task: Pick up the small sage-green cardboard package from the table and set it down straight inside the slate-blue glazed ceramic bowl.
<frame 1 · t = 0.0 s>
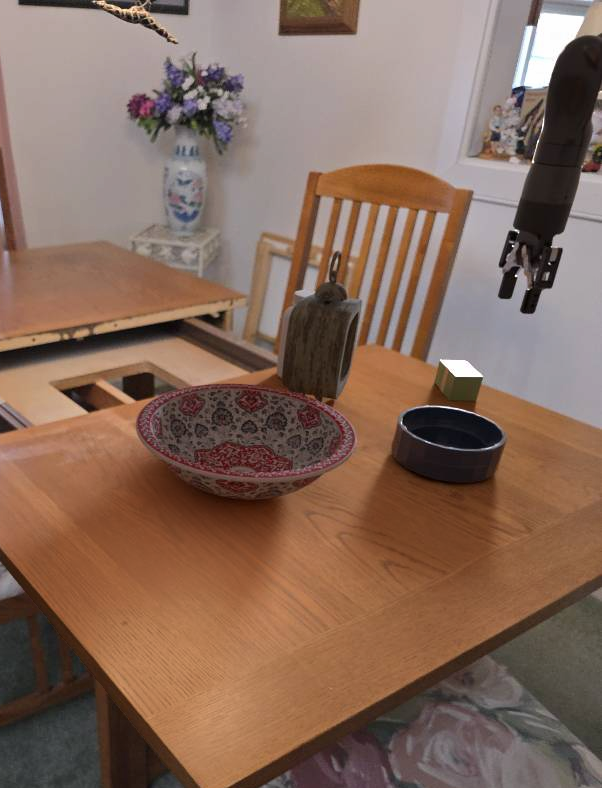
hand: (514, 305, 116), 17 cm above the table, tool pointing down, fingers open, 8 cm apart
bowl: (442, 460, 105), on the table
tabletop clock: (311, 407, 120), on the table
pill bottle: (297, 377, 131), on the table
package: (454, 392, 128), on the table
ceramic bowl: (240, 478, 98), on the table
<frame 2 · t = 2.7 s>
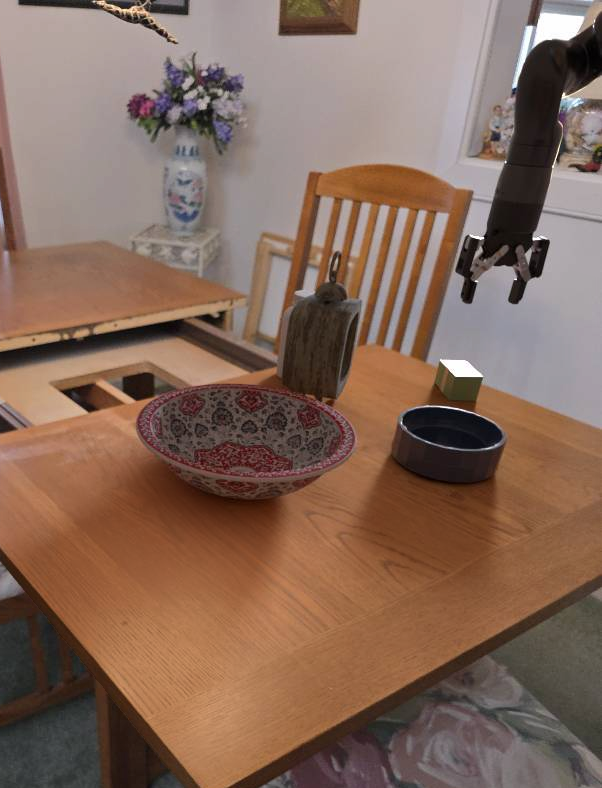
hand: (489, 303, 118), 16 cm above the table, tool pointing down, fingers open, 8 cm apart
nothing on the table moved.
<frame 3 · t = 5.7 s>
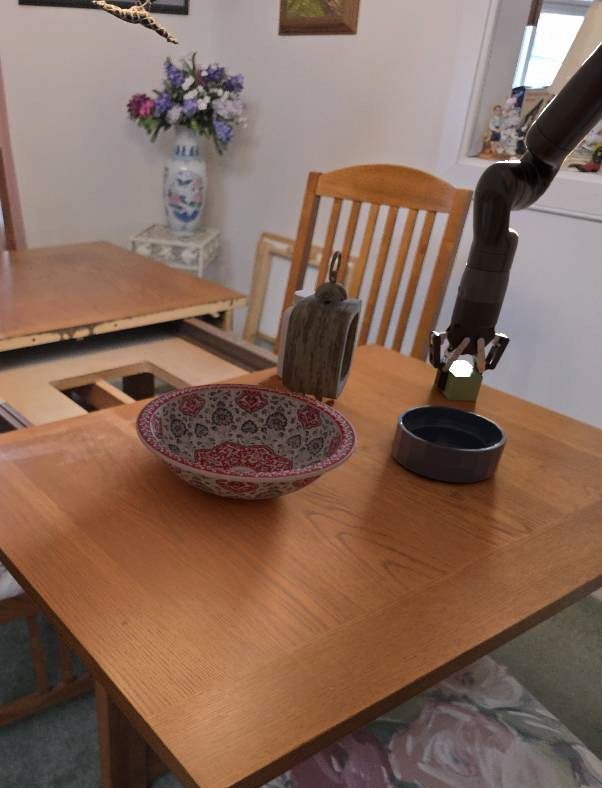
hand: (455, 389, 128), 0 cm above the table, tool pointing down, fingers closed on package, 5 cm apart
package: (454, 392, 128), on the table, touching gripper
everything else where it was.
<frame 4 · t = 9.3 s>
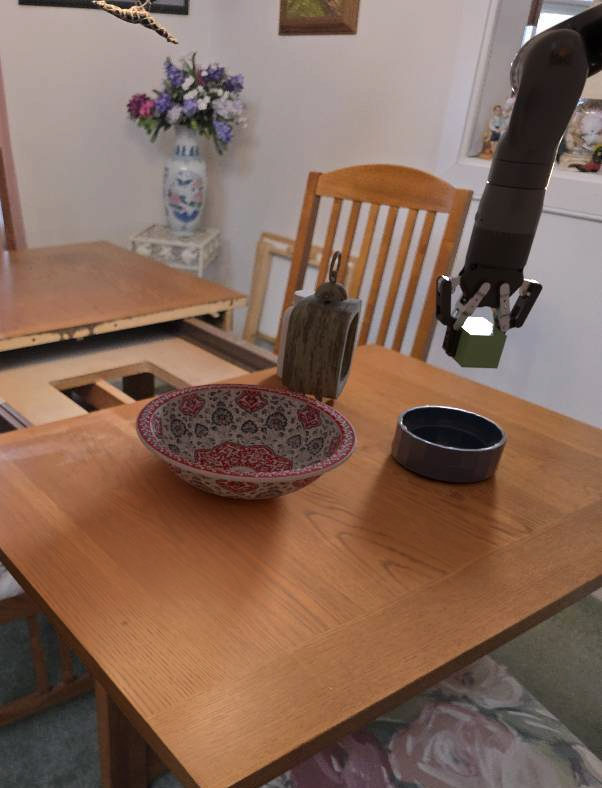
hand: (469, 355, 98), 15 cm above the table, tool pointing down, fingers closed on package, 5 cm apart
package: (468, 357, 99), point 15 cm above the table, touching gripper
everything else where it was.
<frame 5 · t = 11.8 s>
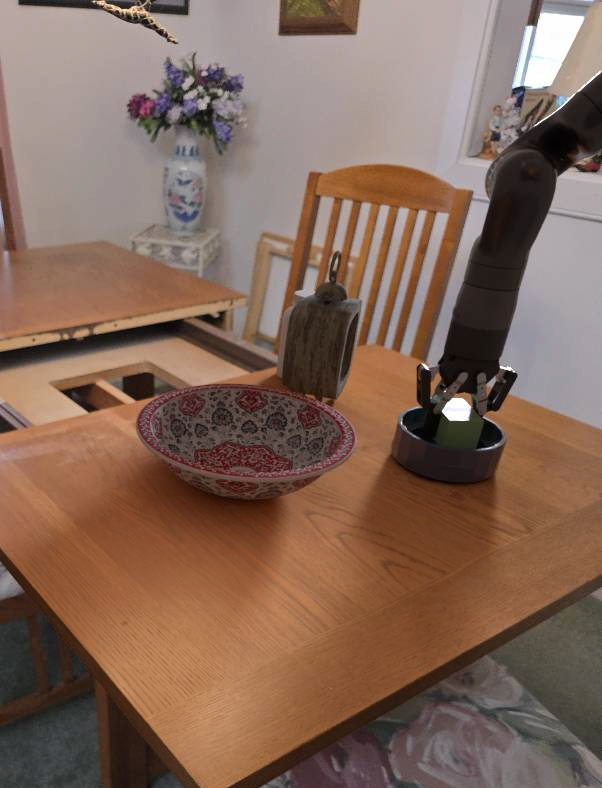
hand: (449, 435, 103), 4 cm above the table, tool pointing down, fingers closed on package, 5 cm apart
package: (448, 437, 103), point 4 cm above the table, touching gripper
everything else where it was.
when the fingers open (1 cm above the table, at t = 13.3 s): package stays where it is, resting on bowl.
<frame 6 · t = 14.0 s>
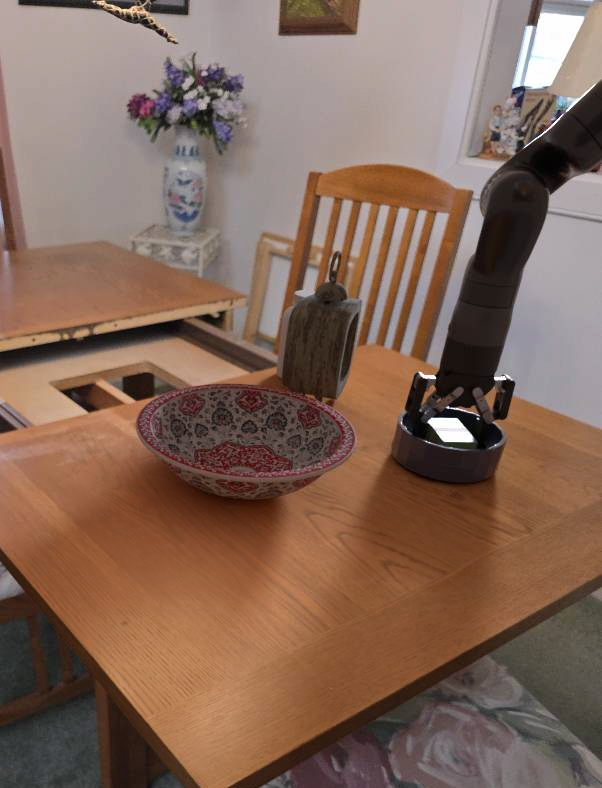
hand: (447, 443, 104), 3 cm above the table, tool pointing down, fingers open, 8 cm apart
package: (443, 457, 105), point 1 cm above the table, touching bowl
everything else where it was.
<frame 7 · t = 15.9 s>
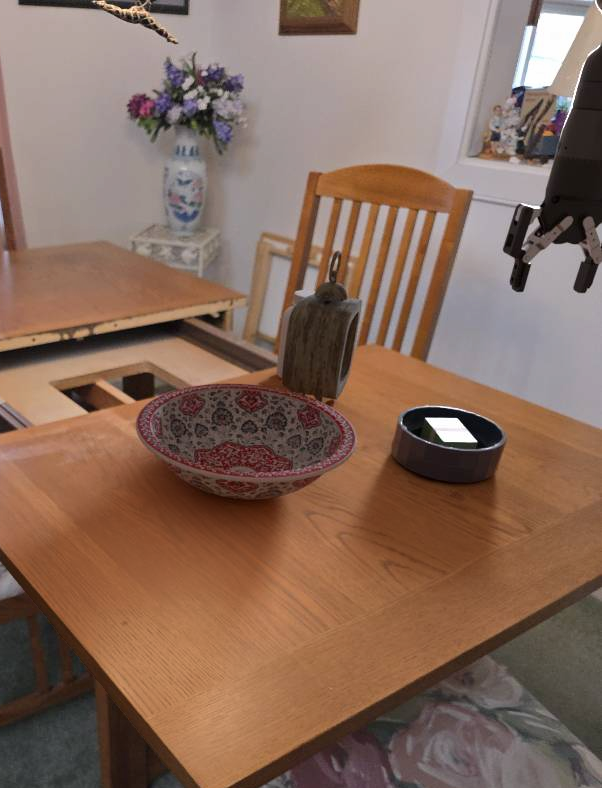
hand: (548, 291, 94), 24 cm above the table, tool pointing down, fingers open, 8 cm apart
nothing on the table moved.
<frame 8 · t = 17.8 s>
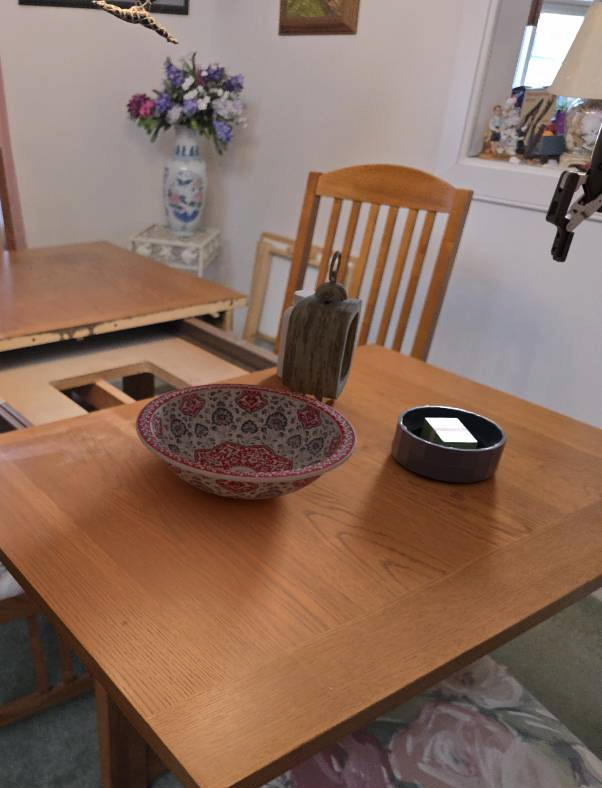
hand: (589, 262, 93), 28 cm above the table, tool pointing down, fingers open, 8 cm apart
nothing on the table moved.
at the end: package inside the target area in the bowl (0.1 cm from its centre), point 0.6 cm above the bowl's base; package tilted 0°; the gripper is holding nothing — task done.
